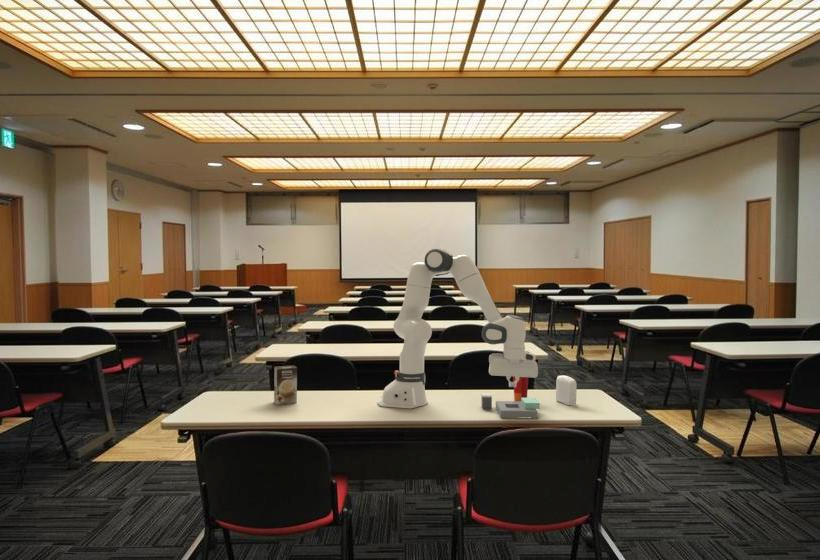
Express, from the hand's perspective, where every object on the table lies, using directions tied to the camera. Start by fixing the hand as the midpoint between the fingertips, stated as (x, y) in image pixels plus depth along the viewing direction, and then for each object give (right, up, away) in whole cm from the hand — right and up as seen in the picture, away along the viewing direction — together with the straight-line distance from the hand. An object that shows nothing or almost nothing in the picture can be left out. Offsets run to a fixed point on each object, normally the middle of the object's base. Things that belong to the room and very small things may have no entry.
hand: (512, 386), depth 209 cm
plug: (-10, -11, +9) cm, 17 cm away
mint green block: (+8, -8, +1) cm, 11 cm away
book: (+28, -11, +16) cm, 34 cm away
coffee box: (-99, -11, +15) cm, 101 cm away
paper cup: (+8, -11, +20) cm, 24 cm away
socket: (+2, -11, +1) cm, 12 cm away
